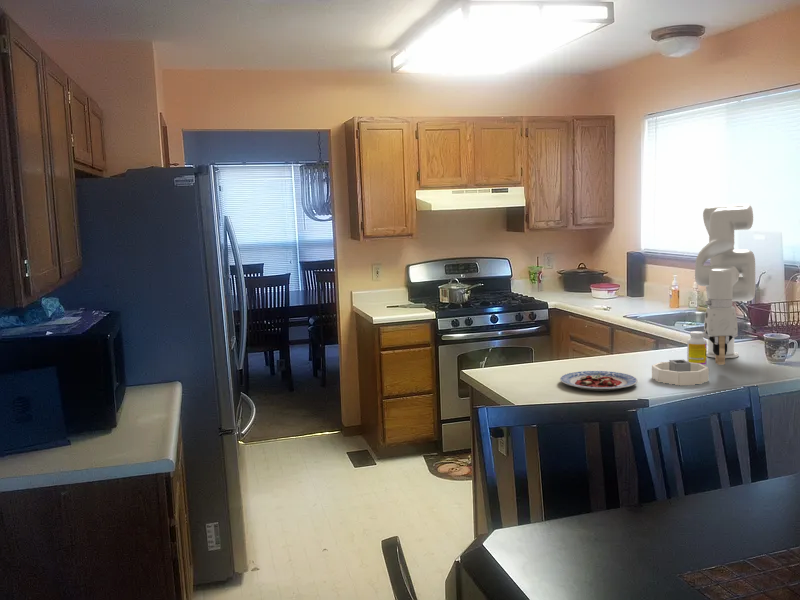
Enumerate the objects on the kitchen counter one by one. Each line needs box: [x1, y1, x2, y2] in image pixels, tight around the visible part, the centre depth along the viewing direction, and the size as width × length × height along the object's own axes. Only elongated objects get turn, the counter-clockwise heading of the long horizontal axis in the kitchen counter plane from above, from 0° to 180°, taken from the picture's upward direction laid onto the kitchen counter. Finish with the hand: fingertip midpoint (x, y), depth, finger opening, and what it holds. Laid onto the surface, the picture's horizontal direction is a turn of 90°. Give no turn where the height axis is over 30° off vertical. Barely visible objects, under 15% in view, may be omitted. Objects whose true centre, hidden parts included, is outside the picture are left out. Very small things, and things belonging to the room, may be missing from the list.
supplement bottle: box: [686, 330, 708, 367], centre depth 254 cm, size 7×7×13 cm
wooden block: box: [714, 336, 726, 366], centre depth 239 cm, size 3×2×12 cm, turn 179°
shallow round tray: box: [651, 359, 710, 386], centre depth 234 cm, size 17×17×6 cm
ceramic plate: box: [559, 370, 639, 392], centre depth 233 cm, size 26×26×3 cm
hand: (720, 354), depth 239 cm, fingers closed on wooden block, 1 cm apart
